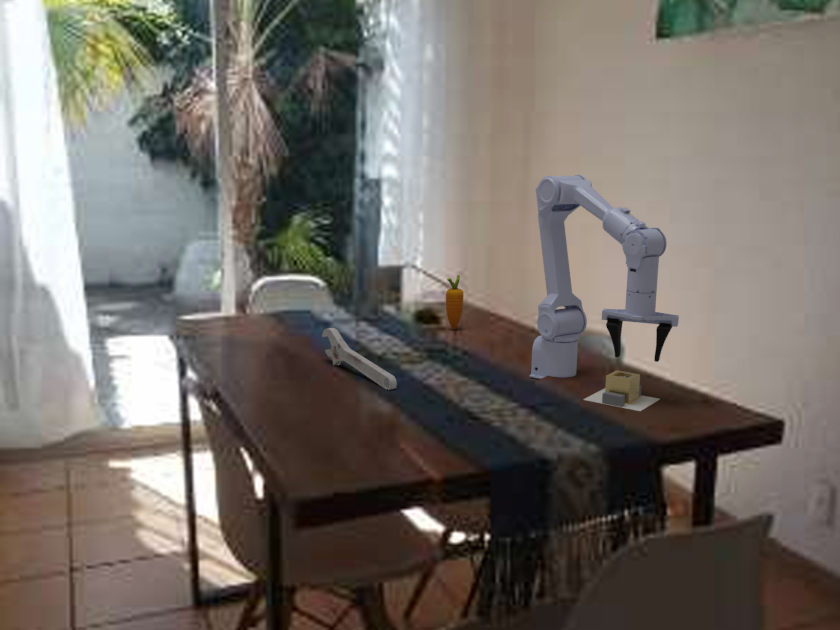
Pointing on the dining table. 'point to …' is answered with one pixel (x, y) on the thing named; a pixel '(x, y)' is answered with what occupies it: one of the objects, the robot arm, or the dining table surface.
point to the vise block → (621, 400)
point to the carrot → (454, 303)
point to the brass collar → (623, 385)
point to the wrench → (356, 360)
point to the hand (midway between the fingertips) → (637, 358)
